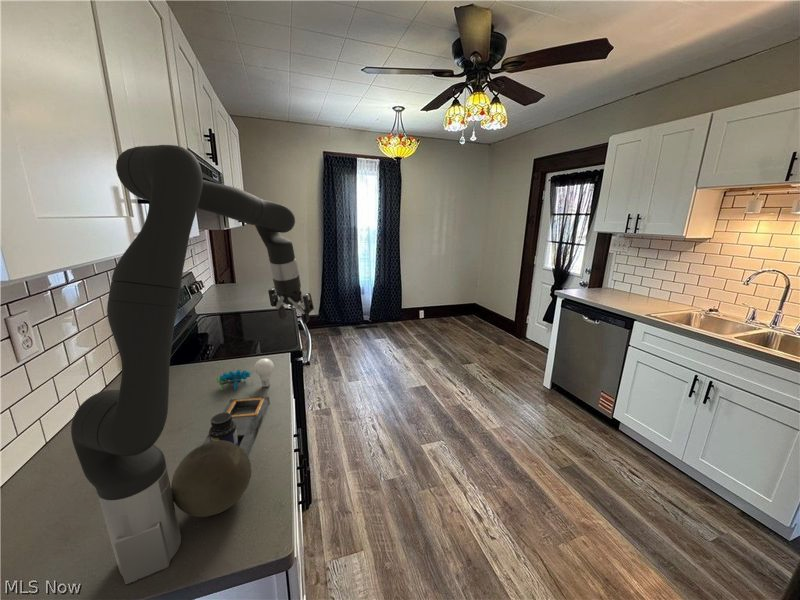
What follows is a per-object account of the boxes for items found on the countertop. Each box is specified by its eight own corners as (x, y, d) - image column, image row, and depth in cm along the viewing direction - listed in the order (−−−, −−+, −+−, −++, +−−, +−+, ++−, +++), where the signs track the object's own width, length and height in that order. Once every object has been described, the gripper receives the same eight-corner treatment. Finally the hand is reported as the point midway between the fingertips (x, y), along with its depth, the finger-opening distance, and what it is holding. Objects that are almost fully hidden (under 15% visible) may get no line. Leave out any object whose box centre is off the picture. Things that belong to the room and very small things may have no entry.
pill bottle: (209, 464, 80) (203, 427, 77) (216, 447, 86) (211, 412, 83) (236, 459, 82) (231, 423, 79) (241, 443, 88) (236, 409, 85)
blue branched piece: (253, 374, 122) (245, 366, 113) (254, 389, 119) (246, 382, 111) (222, 381, 119) (211, 373, 111) (222, 396, 117) (211, 390, 108)
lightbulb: (252, 388, 115) (249, 360, 112) (267, 380, 121) (264, 354, 118) (265, 392, 113) (262, 364, 110) (279, 384, 118) (276, 357, 115)
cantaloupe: (194, 486, 74) (184, 431, 70) (259, 476, 77) (253, 423, 73) (166, 545, 61) (152, 482, 57) (246, 531, 64) (237, 469, 60)
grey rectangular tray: (243, 466, 80) (242, 457, 79) (191, 472, 78) (190, 462, 77) (269, 403, 106) (269, 396, 106) (231, 406, 105) (230, 398, 104)
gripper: (257, 276, 93) (268, 322, 101) (298, 282, 89) (307, 330, 97) (273, 266, 99) (283, 310, 107) (313, 272, 95) (320, 317, 103)
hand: (294, 320), depth 102 cm, fingers open, 8 cm apart
